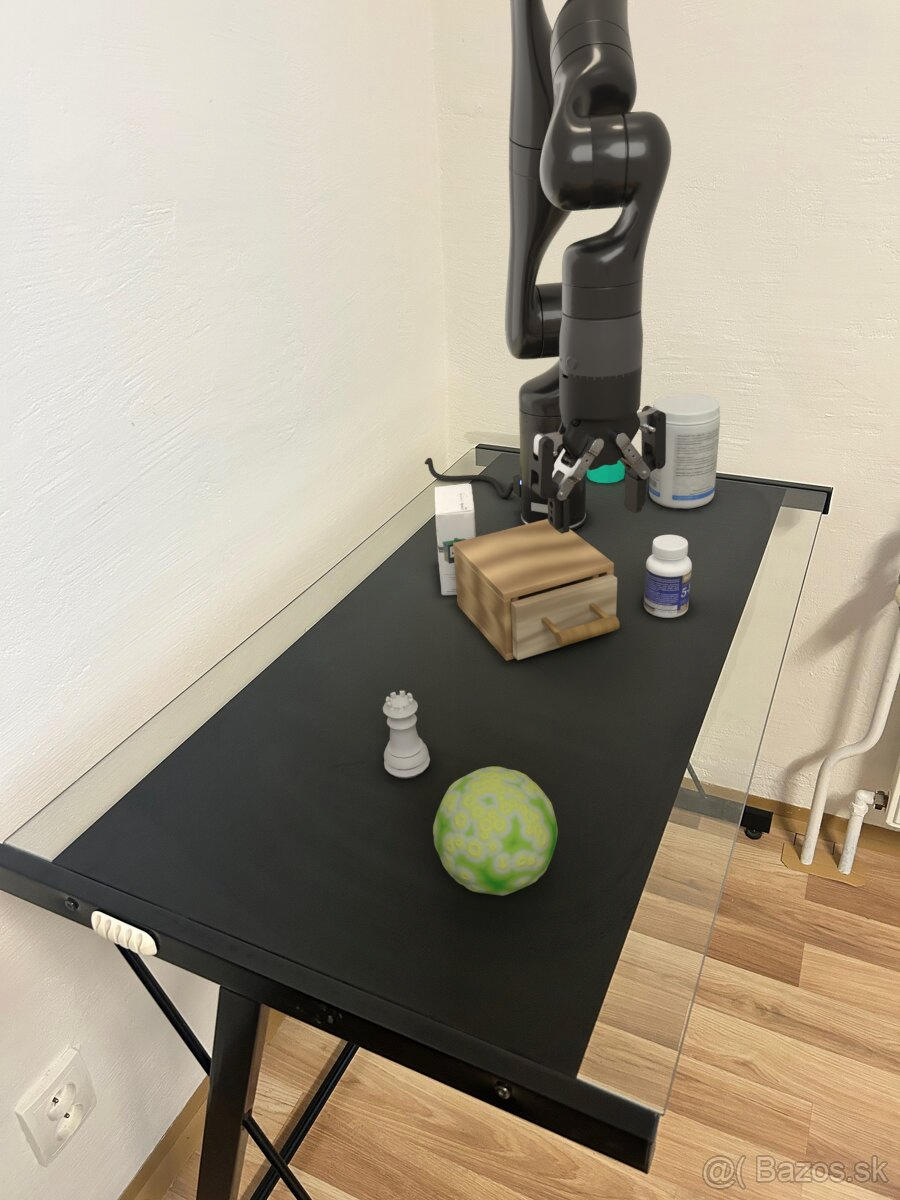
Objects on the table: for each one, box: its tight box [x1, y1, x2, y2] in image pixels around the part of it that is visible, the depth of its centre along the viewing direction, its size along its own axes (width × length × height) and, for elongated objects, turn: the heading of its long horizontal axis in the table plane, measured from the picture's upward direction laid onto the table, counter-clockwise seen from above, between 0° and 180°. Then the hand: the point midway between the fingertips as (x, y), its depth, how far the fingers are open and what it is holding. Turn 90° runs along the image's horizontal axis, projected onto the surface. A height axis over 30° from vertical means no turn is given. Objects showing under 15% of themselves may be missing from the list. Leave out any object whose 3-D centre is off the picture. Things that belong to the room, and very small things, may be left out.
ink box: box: [434, 483, 477, 596], centre depth 113 cm, size 9×5×12 cm, turn 2°
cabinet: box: [453, 519, 615, 662], centre depth 104 cm, size 14×14×9 cm
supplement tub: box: [648, 393, 721, 510], centre depth 129 cm, size 10×10×15 cm
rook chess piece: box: [382, 690, 431, 779], centre depth 83 cm, size 4×4×8 cm
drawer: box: [511, 574, 620, 661], centre depth 100 cm, size 18×13×7 cm
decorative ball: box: [432, 766, 559, 897], centre depth 70 cm, size 10×10×10 cm
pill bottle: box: [643, 534, 693, 619], centre depth 104 cm, size 5×5×9 cm
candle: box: [586, 460, 626, 484], centre depth 138 cm, size 6×6×12 cm
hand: (597, 520), depth 89 cm, fingers open, 8 cm apart
